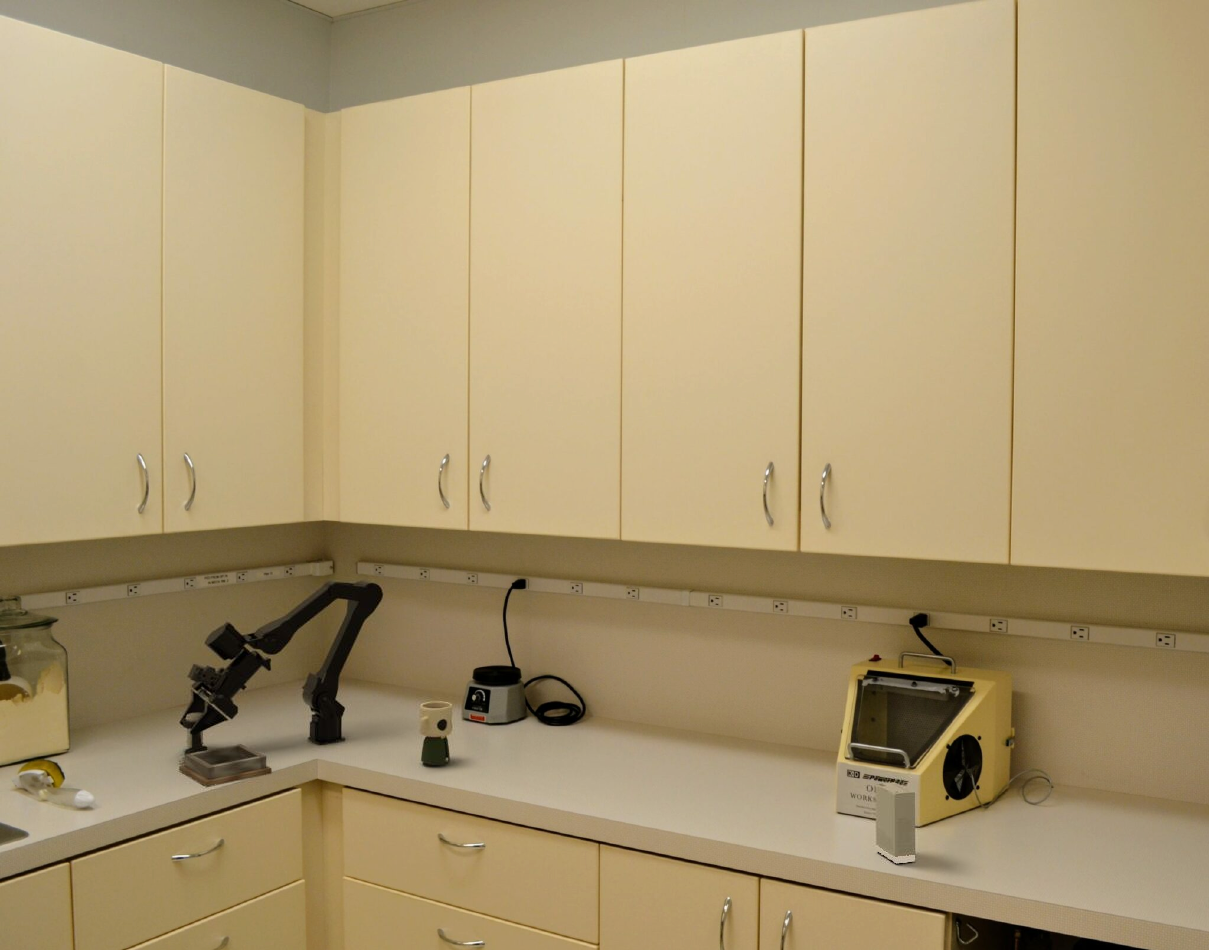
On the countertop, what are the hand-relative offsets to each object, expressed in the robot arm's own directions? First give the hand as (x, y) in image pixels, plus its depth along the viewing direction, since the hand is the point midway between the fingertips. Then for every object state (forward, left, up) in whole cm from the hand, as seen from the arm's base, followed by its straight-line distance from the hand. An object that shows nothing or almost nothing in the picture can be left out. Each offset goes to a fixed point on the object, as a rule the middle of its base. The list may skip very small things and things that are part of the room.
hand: (185, 729), depth 225 cm
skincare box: (-69, +133, -7) cm, 150 cm away
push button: (-1, 0, -7) cm, 7 cm away
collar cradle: (-3, +13, -7) cm, 15 cm away
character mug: (-40, +37, -7) cm, 55 cm away
